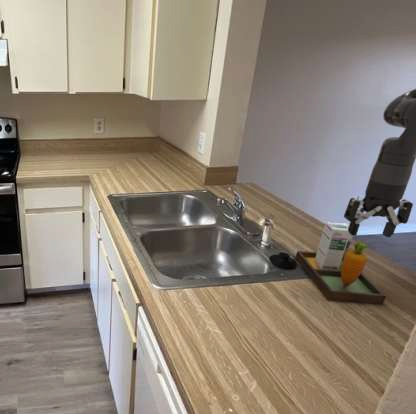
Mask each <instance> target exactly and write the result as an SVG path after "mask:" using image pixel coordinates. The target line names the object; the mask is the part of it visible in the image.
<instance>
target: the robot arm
mask: <svg viewBox="0 0 416 414" xmlns="http://www.w3.org/2000/svg"><path fill="white" fill-rule="evenodd" d="M382 115H383V116H382V117H383V120H384V122H385V123H386V124H388V125H390V126H392V127H397V128H402V129H404V130H403V131H402V133H401V134H400V136H391V137H387V138H386V139H385V140H384V141H382V144H381V147H380V150H379V153H378V156H377V158H376V161H375V164H374V165H373V168H372V170H371V173H370V176H369V180H368V182H367V185H366V189H365V195H364V198H363V199H356V198H354V197H352V198H350V199H349V201H348V204H347V207H346V209H345V211H344V214H343V218H345V219H346V220H347V221H348V222H349V224H348V225H349V228H348V232H349V233H350V234H351V235H352V236H353V237H356V236H357V235H358V232H359V229H360V226H361V223H362V222H363V221H365V220H368V219H369V218H371V217H373V218H375V217H382V218H386V220H387V221H386V222H385V225H384V227H383V231H382V236H384V237H385V238H391V237H392V236H394V234H395V231H396V228H397V227H398V226H399V225H400V224H407V223H408V222H409V219H410V215H411V212H412V209H413V205H414V203H413V202H411V201H410V200H407V199H404V198H403V197H404V195H405V193H406V189H407V187H408V185H409V182H410V178H411V176H412V172H413V167H414V164H415V162H416V88H414V89H411V90H409V91H407V92H405V93H403V94H401V95H399V96H397V97H396V98H394V99H393V100H392V101H390V102H389V104H387V106H386V107H385V109H384V111H383V114H382ZM396 209H398V210H397V214H396V212H395V210H396ZM364 212H365V213H364Z"/></svg>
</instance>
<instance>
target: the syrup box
mask: <svg viewBox="0 0 416 414" xmlns="http://www.w3.org/2000/svg"><path fill="white" fill-rule="evenodd" d="M349 225H350V224H348V223H342V222H331V221H326V222H325V223H324V227H323V230H322V234H321V238H320V242H319V244H318V248H317V251H316V252H317V254H316V258H315V262H316V263H317V265H318V266H319V268H320V269H324V270H338V271H341V270H342V264H343V260H344V257H345V253H346V252H347V251H349V249H350V246H351V244H352V240H353V238H354V236H352V235H351V234H350V233H349V232H348V228H349Z"/></svg>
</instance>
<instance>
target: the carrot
mask: <svg viewBox="0 0 416 414" xmlns="http://www.w3.org/2000/svg"><path fill="white" fill-rule="evenodd" d="M369 247H371V245H369V244H365V243H364V242H362V241H361V239H357V240H356V242H354V247H353V248H354V250H353V249H351V250H348V251H347V252H346V253H345V257H344V260H343V264H342V272H341V276H342V281H343V285H344V286H345V287H347V286H349V285H351V284H352V283H353V282H354V281H356V279H357V278H358V277H359V275H360V274H361V272H362V273H363V270H364V269H365V266H366V263H367V261H368V258H367V256H366V254H365V249H367V248H369Z"/></svg>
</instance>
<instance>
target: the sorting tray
mask: <svg viewBox="0 0 416 414" xmlns="http://www.w3.org/2000/svg"><path fill="white" fill-rule="evenodd" d="M316 254H317V251H307V250H306V251H305V250H296V254H295V260H296V261H297V262H298V263H299V265H300V266H301V267H302V268H303V270H304V271H305V272H306V274H307V275H308V276H309V278H310V279H311V280H312V281H313V283H314V284H315V285H316V286H317V288H318V289H319V290H320V292H321V293H322V294H323V296H324V297H325V298H326V300H328V301H339V302H348V303H349V302H351V303H362V304H363V303H364V304H376V305H383V304H384V302H385V300H386V297H387V295H386V294H385V293H384V292H383V291H382V290H381V289H380V288H379V287H377V286H376V285H375V284H374V282H372V280H371V279H369V277H367V276H366V275H365V274H364V273H363V271H362V272H361V274H360V275H359V277H358V278H357V279H356V281H354V282H353V283H352V284H351V285H349V286H347V287H345V286H344V285H343V281H342V276H341V272H342V270H341V271H338V270H324V269H320V268H319V266H318V265H317V263H316V262H315V258H316Z"/></svg>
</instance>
